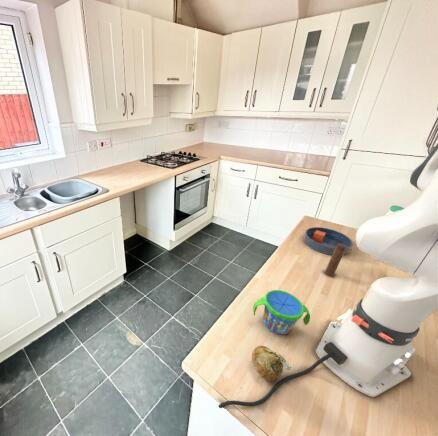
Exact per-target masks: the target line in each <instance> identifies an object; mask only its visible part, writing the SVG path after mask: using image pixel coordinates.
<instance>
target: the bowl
mask: <svg viewBox="0 0 438 436" xmlns="http://www.w3.org/2000/svg"><path fill="white" fill-rule="evenodd" d="M316 230H318V231H321V232H324V233H326V234H325V237H324V239H323V241H322V243H319V242H316V241H314V240H312V238H313V235H314V233H315V231H316ZM302 240H303V243H304V244H305V245H306V247H308V248H309V249H311V250H313V251H315V252H316V253H320V254H323V255H326V256H331V257H332V254H333V252H334V250H335V247H336V245H337V243H342V244H345V245H346V246H347V248H346V250H345V252H344V254H343V256H346V255H349V254H350V253H351V250H352V248H353V246H354V241H353V240H352V239H351V238H350V237H348V235H346V234H344V233H342V232H340V231H337V230H335V229H331V228H326V227H320V226H315V227H309V228H307V229H306V230H305V232H304V235H303V237H302ZM343 256H342V257H343Z"/></svg>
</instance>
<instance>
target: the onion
mask: <svg viewBox="0 0 438 436" xmlns="http://www.w3.org/2000/svg"><path fill="white" fill-rule="evenodd" d="M251 361H252V364H253V366H254V368H255V370H256V372H257V373H258V374H259V376H260V377H261V378H262V379H264V380H266V381H277V380H278V379H280V377H281V376H282V374H283V372H284V368H285V370H286V371H290V370H291V369H292V366H291V365H290V364H289V363H288V362H287V361H286V360H285V358H284V357H283V356H282V354H281V355H280V354H279V353H277V352H275V351H273V350H271V348H269V347H268V346H265V345H258V346H256V347H255V348H254V349H253V351H252V354H251Z"/></svg>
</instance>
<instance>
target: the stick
mask: <svg viewBox="0 0 438 436" xmlns="http://www.w3.org/2000/svg"><path fill="white" fill-rule="evenodd" d="M346 248H347V246H346V245H345V244H342V243H337V245H336V247H335V250H334V252H333V254H332V256H331V257H330V259H329V261H328V264H327V266H326V267H325V268H326V269H325V271H324V274H325V275H326V276H327V277H334V275H335V274H336V271H337V269H338V267H339V266H340V263H341V261H342V258H343V254H344V252H345V250H346Z"/></svg>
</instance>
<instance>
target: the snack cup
mask: <svg viewBox="0 0 438 436" xmlns="http://www.w3.org/2000/svg"><path fill="white" fill-rule="evenodd" d="M262 305H263V306H264V308H263V309H264V310H263V320H262V321H263V324H264V326H265V327H266V328H267V329H268V330H269V331H270V333H274V334H276V335H287V334H288V333H289V332H290V331H291V330H292V328H293V327H294V326H295V325H296V323H297V322H298V320H300V319H301V318H302V317H303V318H302V319H303V320H302V322H303V324H304V325H305V326H308V325H309V323H310V320H311V313H310V311H309V308H307V306H306V305H304V304H303V303H302V301H301V300H300V299H299V298H298V297H296V296H295V295H293V294H292V293H291V292H287V291H285V290H280V289H273V290H269V291H267V293H266V294H265V295H264V297H260V298H258V299H257V300H256V301H255V302H254V303H253V305H252V313H253V316H256V311H257V309H258V307H259V306H262ZM304 313H306V314H305V315H304Z"/></svg>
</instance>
